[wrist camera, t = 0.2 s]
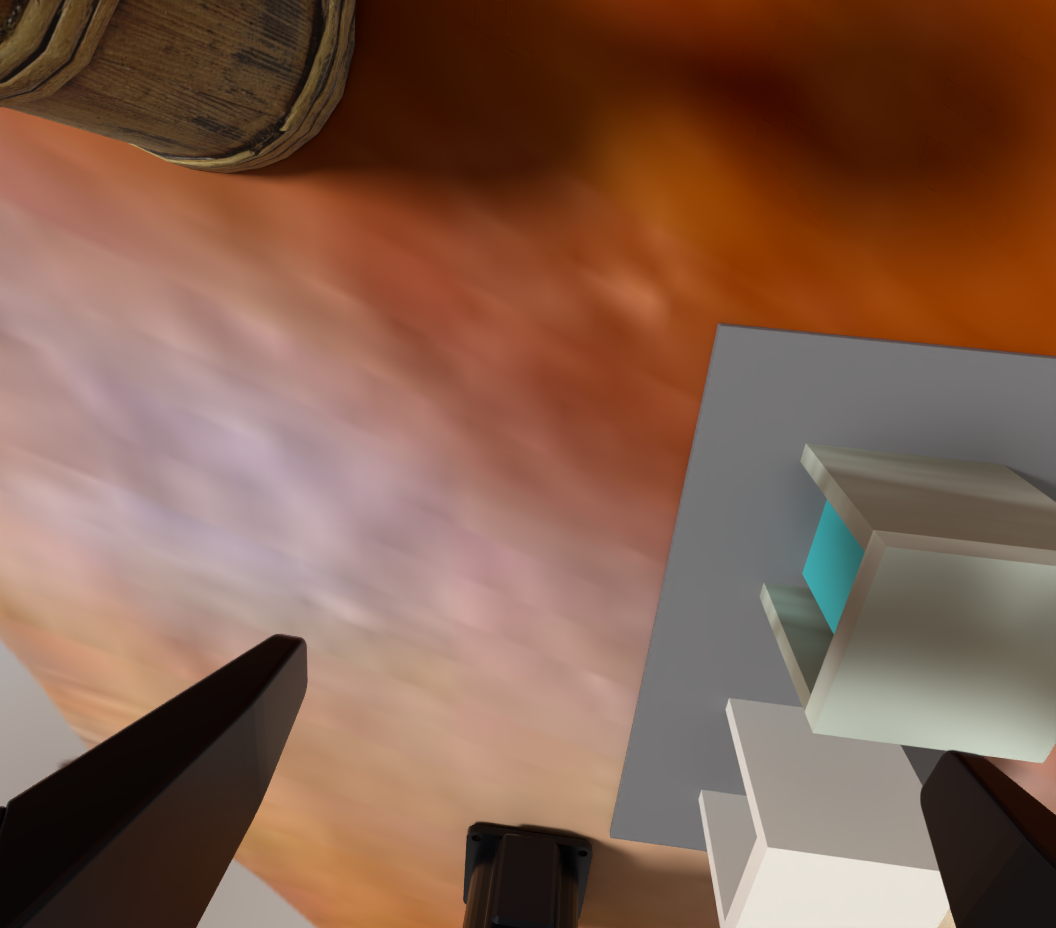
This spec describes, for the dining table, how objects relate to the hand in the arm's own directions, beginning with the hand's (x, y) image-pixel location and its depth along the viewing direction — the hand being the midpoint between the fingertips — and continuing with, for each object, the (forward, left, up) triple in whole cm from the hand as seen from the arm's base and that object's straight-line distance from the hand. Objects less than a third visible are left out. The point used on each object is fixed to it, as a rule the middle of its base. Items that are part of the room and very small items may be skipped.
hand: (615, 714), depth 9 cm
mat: (-10, -11, -14) cm, 21 cm away
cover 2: (-16, -11, -14) cm, 24 cm away
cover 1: (-4, -11, -14) cm, 18 cm away
